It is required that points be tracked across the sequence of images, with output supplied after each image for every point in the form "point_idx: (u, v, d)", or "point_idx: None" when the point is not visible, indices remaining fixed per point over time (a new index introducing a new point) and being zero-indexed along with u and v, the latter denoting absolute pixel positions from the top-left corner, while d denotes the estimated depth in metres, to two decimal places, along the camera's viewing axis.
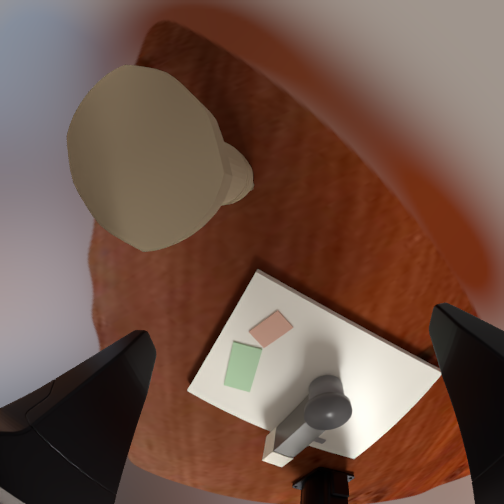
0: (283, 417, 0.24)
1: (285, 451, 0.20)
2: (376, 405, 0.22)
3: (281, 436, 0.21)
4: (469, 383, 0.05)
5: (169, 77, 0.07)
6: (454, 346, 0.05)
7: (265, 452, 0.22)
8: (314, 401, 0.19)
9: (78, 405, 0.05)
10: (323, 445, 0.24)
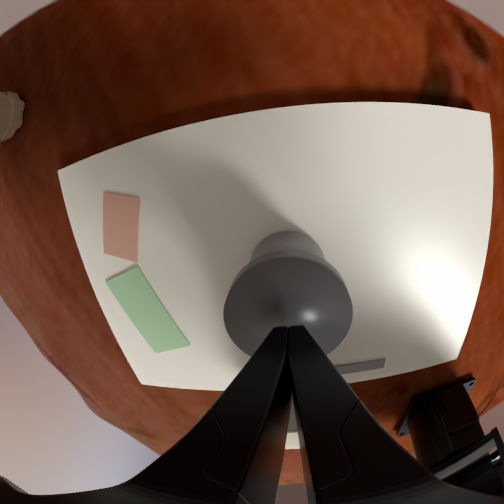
0: None
1: (295, 424, 0.11)
2: (424, 244, 0.11)
3: None
4: None
5: None
6: (290, 375, 0.06)
7: None
8: (224, 305, 0.08)
9: (267, 434, 0.04)
10: (388, 368, 0.14)
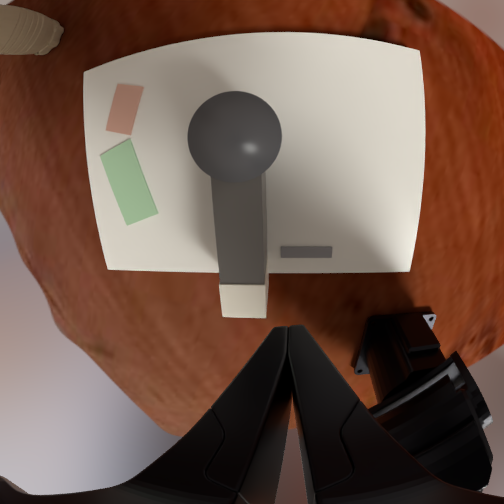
0: None
1: (238, 273, 0.13)
2: (359, 135, 0.14)
3: None
4: None
5: None
6: (290, 375, 0.06)
7: None
8: (189, 124, 0.11)
9: (267, 434, 0.04)
10: (337, 261, 0.17)
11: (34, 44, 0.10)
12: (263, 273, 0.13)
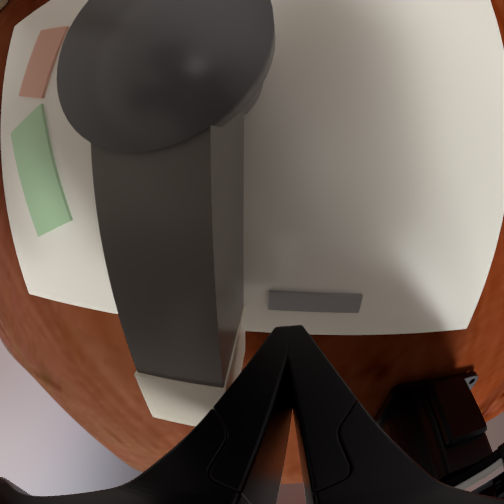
0: None
1: (168, 362, 0.06)
2: (423, 95, 0.06)
3: None
4: None
5: None
6: (288, 375, 0.06)
7: None
8: (68, 36, 0.03)
9: (269, 434, 0.04)
10: (366, 317, 0.09)
11: None
12: (220, 369, 0.06)
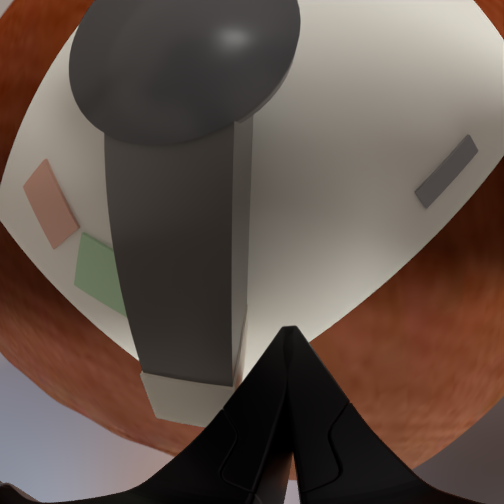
0: (331, 233, 0.08)
1: (177, 361, 0.05)
2: None
3: None
4: None
5: None
6: None
7: None
8: (82, 23, 0.03)
9: (280, 434, 0.04)
10: (485, 151, 0.06)
11: None
12: (230, 368, 0.06)
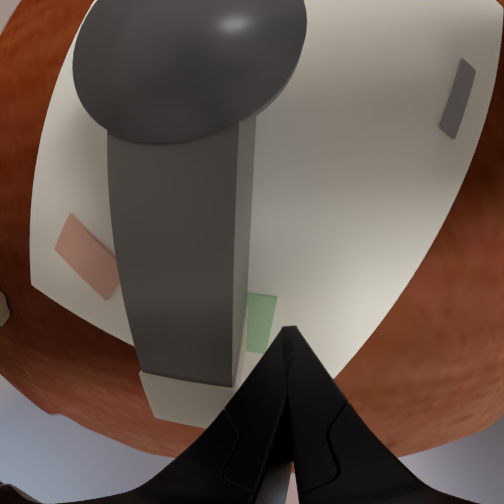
0: (381, 190, 0.08)
1: (176, 362, 0.05)
2: None
3: None
4: None
5: None
6: None
7: None
8: (87, 19, 0.03)
9: (282, 434, 0.04)
10: (481, 69, 0.05)
11: None
12: (230, 369, 0.05)
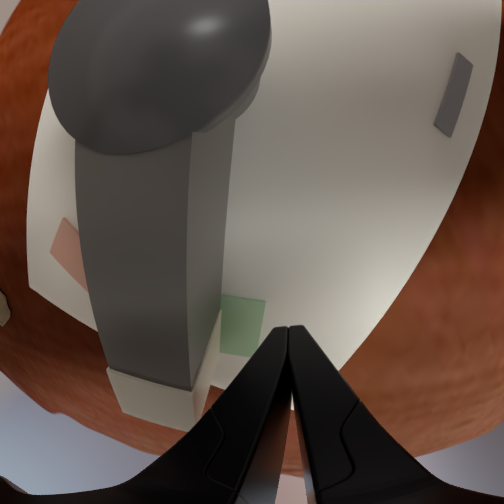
0: (372, 192, 0.07)
1: (139, 362, 0.05)
2: None
3: None
4: None
5: None
6: (290, 375, 0.06)
7: None
8: (64, 26, 0.03)
9: (267, 434, 0.04)
10: (479, 63, 0.05)
11: None
12: (189, 374, 0.05)
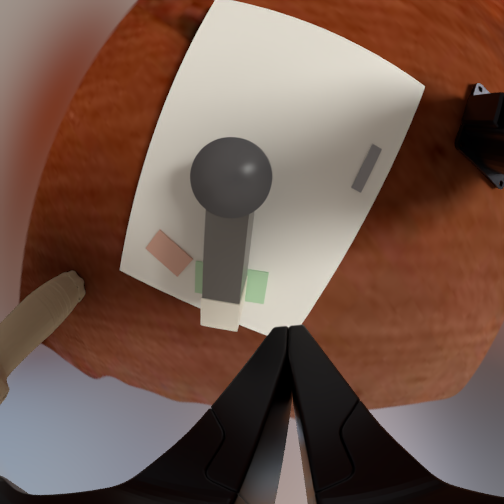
0: (317, 221, 0.17)
1: (219, 291, 0.15)
2: (280, 75, 0.14)
3: None
4: None
5: None
6: (289, 375, 0.06)
7: None
8: (194, 160, 0.13)
9: (267, 434, 0.04)
10: (387, 146, 0.15)
11: (70, 297, 0.20)
12: (239, 295, 0.15)
